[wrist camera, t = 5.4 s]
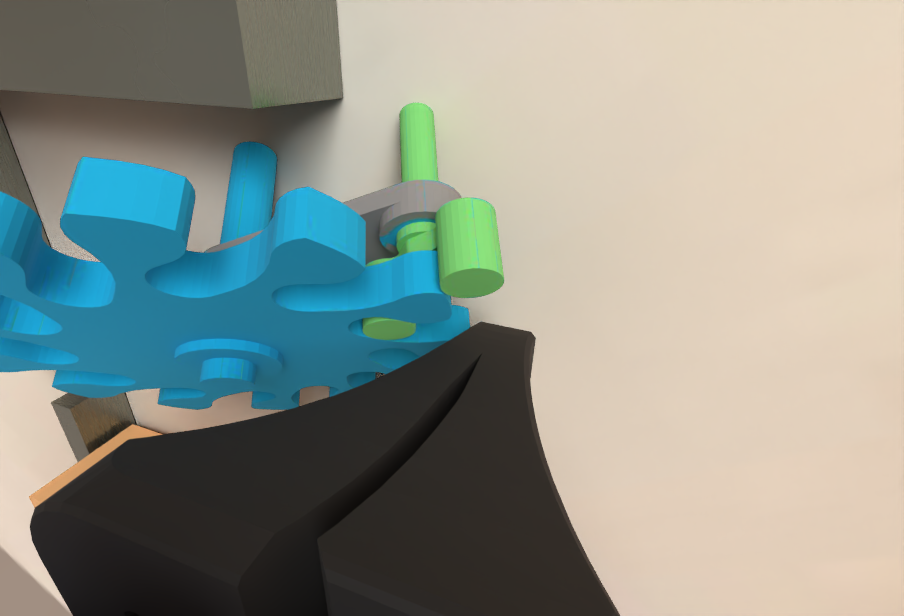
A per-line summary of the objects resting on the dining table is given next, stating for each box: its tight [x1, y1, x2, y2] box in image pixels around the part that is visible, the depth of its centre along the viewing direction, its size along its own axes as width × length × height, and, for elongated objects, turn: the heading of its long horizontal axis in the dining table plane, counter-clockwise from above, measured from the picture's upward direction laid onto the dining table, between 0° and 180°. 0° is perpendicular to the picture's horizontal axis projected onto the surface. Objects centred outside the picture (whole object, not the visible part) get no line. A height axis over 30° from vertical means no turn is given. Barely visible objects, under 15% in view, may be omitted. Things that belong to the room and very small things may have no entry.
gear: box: [0, 103, 504, 410], centre depth 11 cm, size 11×6×10 cm
